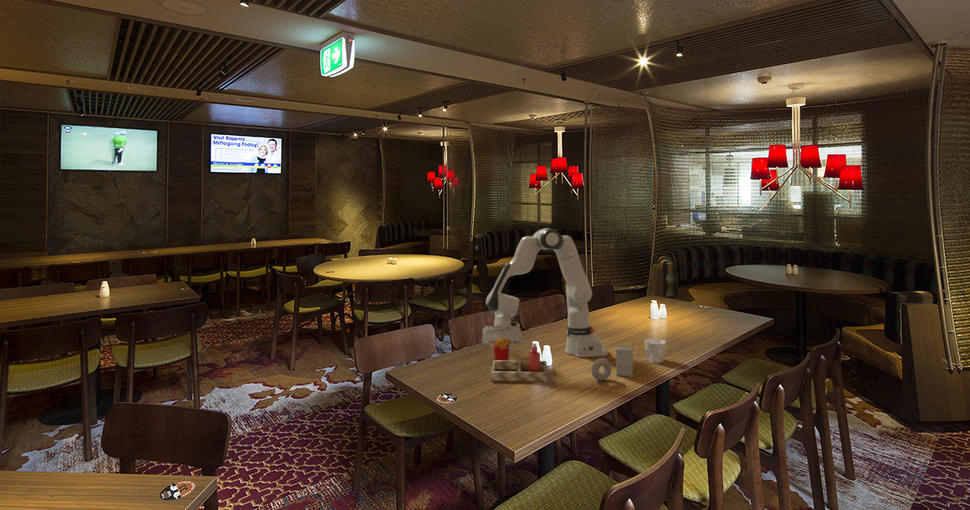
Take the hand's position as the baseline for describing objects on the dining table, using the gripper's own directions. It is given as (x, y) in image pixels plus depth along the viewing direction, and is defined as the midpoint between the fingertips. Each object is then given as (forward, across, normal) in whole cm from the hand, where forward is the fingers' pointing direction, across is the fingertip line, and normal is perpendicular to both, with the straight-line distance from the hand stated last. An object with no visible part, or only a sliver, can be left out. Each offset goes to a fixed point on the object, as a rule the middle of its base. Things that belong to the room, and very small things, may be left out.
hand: (501, 350), depth 238 cm
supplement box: (+13, +58, -4) cm, 60 cm away
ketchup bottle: (+18, +16, -8) cm, 25 cm away
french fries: (+4, 0, +5) cm, 7 cm away
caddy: (+16, +9, -7) cm, 20 cm away
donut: (+20, +46, -10) cm, 51 cm away
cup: (-1, +77, +10) cm, 78 cm away
